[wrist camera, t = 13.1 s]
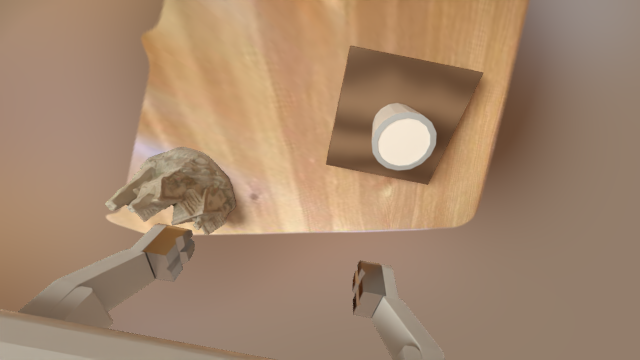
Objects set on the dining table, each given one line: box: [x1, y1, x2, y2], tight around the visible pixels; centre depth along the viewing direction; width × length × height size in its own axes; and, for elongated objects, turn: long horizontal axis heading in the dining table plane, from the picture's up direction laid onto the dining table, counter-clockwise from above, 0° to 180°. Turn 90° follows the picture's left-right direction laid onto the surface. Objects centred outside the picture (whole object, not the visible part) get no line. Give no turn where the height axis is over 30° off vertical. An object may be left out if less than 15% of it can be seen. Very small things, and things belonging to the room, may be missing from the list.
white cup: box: [372, 103, 436, 170], centre depth 28 cm, size 7×7×7 cm
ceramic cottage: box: [106, 147, 236, 235], centre depth 40 cm, size 16×16×15 cm
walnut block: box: [326, 46, 483, 185], centre depth 33 cm, size 16×16×5 cm
